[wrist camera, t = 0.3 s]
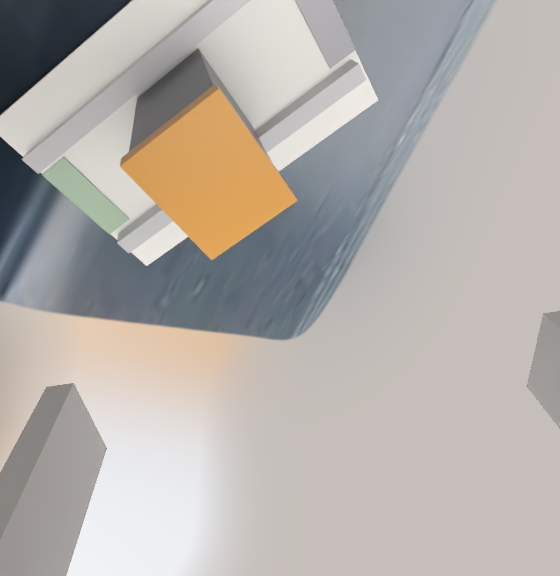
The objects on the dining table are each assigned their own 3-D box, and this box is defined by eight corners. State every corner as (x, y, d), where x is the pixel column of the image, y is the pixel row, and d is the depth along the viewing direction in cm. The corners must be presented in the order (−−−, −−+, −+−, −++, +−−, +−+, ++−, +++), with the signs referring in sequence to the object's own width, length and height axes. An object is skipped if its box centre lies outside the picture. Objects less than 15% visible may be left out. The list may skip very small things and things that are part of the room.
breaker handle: (198, 42, 27) (218, 88, 18) (256, 127, 31) (297, 200, 22) (132, 97, 28) (119, 166, 19) (196, 172, 32) (211, 260, 23)
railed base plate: (269, -120, 25) (280, -128, 22) (370, 94, 33) (386, 105, 31) (-5, 119, 29) (-20, 133, 26) (147, 256, 37) (146, 276, 35)
